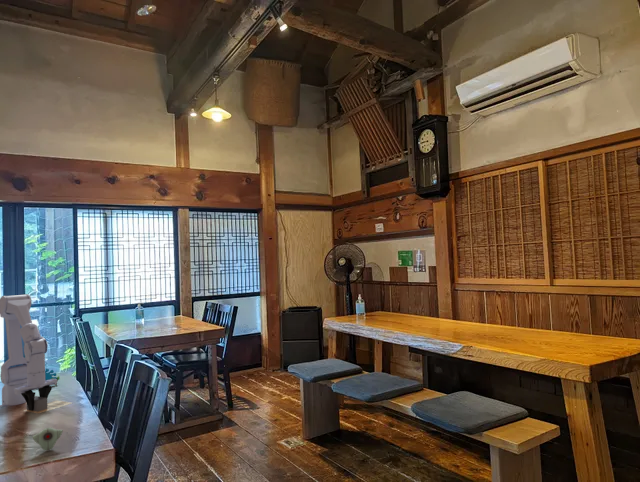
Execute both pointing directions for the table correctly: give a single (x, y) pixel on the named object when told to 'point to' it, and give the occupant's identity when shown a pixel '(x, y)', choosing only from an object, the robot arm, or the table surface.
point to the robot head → (47, 438)
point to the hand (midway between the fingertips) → (37, 408)
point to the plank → (53, 405)
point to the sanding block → (39, 404)
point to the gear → (50, 375)
